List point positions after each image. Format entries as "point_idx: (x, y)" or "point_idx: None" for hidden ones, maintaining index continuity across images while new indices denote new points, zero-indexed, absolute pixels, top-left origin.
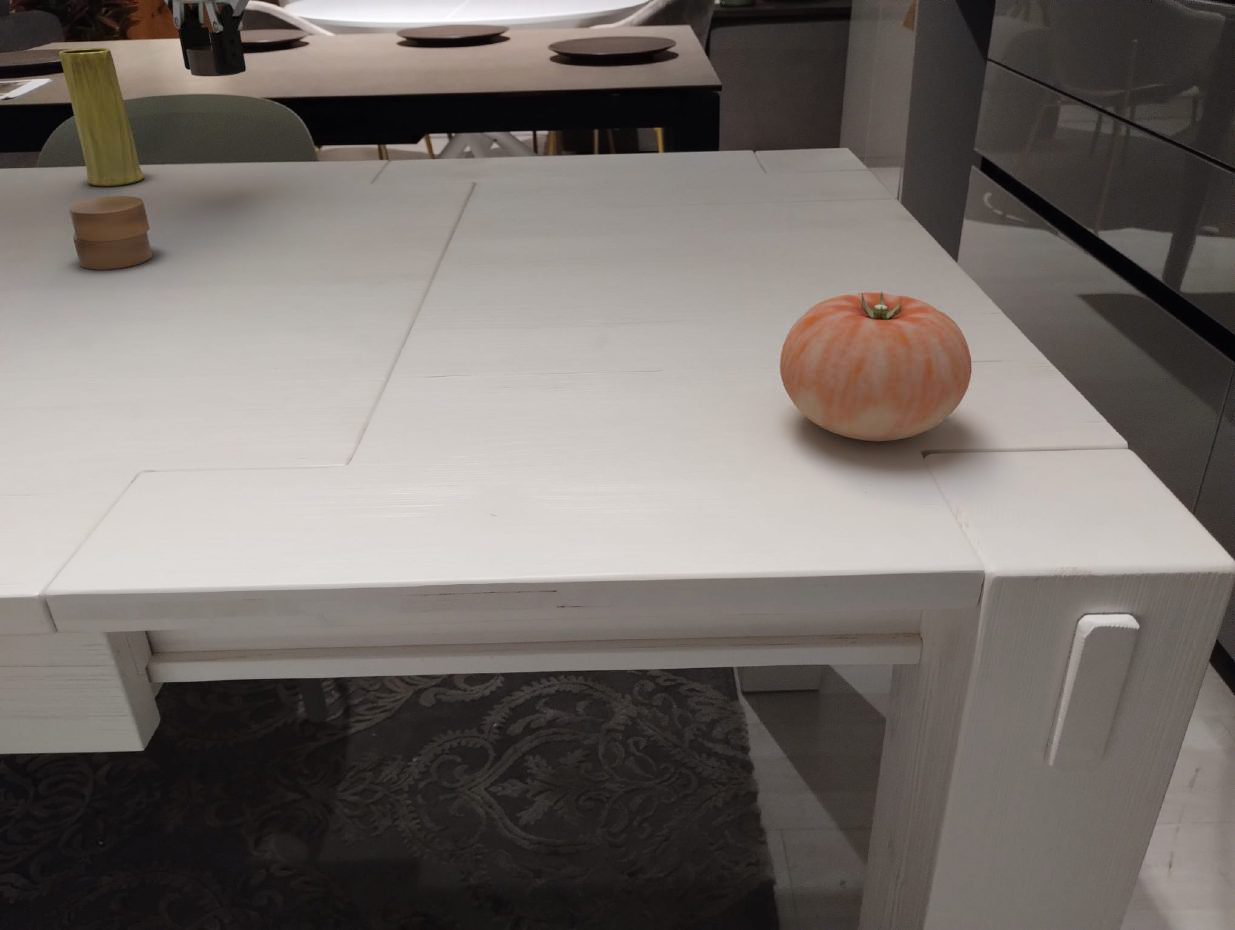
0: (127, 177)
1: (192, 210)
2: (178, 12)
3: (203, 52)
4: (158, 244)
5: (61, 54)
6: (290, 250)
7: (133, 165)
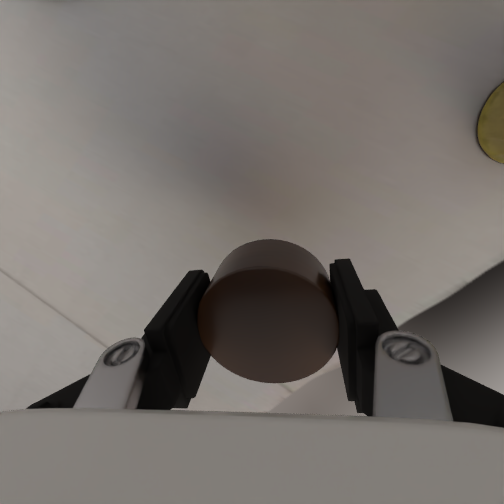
0: (486, 122)
1: (240, 129)
2: (384, 384)
3: (213, 281)
4: (101, 15)
5: None
6: (7, 136)
7: (499, 140)
